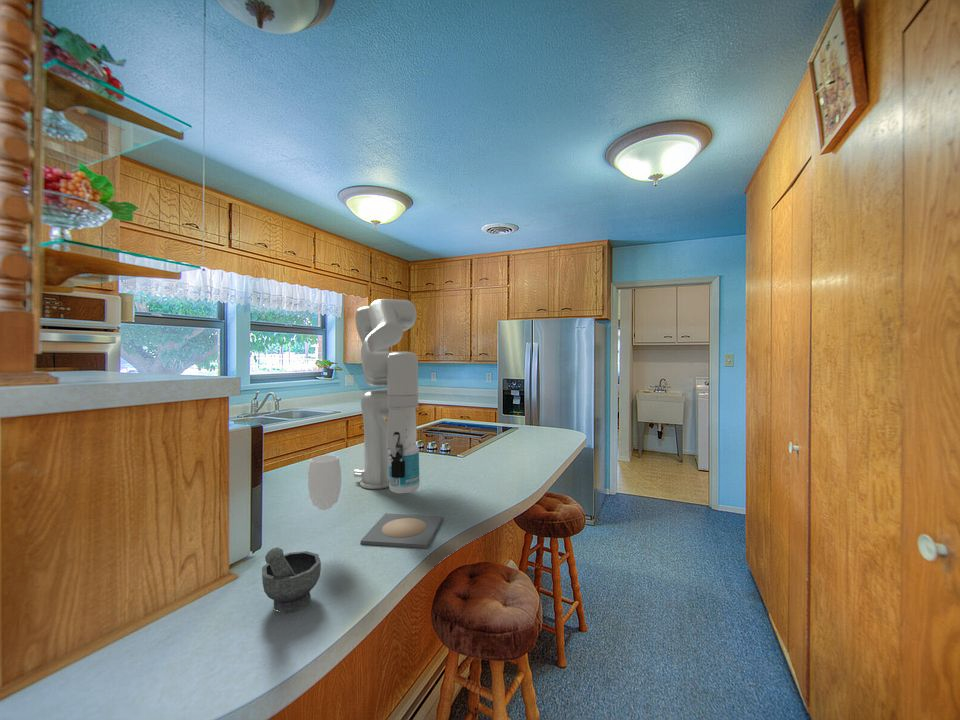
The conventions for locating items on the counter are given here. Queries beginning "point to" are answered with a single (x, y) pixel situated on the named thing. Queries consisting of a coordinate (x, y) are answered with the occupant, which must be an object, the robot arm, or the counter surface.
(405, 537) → the rest mat
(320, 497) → the cup
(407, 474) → the pill bottle
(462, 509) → the counter surface
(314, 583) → the mortar and pestle
